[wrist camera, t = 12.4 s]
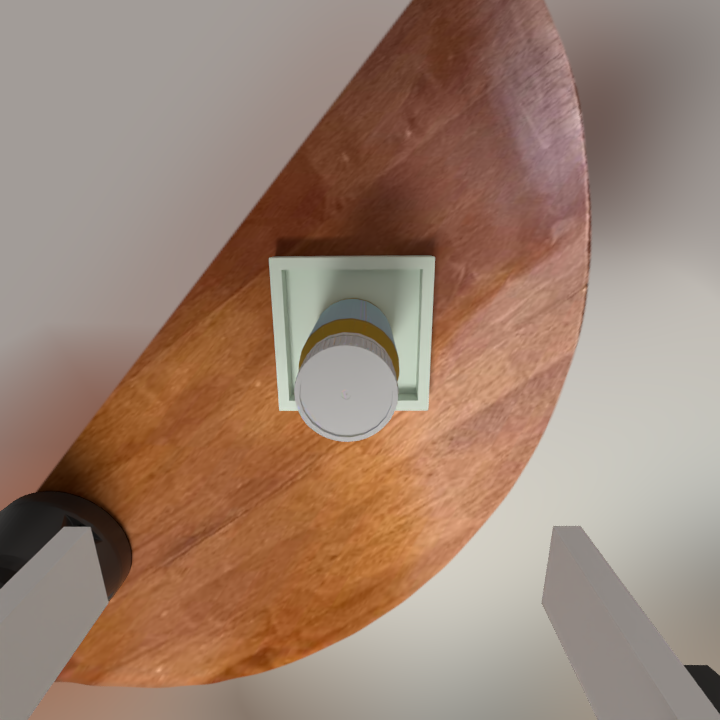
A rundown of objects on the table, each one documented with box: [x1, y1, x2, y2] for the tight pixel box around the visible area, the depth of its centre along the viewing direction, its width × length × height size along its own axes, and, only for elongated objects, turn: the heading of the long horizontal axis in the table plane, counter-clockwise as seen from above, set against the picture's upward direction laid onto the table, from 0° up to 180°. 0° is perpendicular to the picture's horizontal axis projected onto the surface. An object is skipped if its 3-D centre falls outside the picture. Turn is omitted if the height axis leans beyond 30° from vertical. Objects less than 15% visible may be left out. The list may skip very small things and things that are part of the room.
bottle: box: [294, 298, 400, 442], centre depth 31 cm, size 7×7×15 cm
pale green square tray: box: [269, 255, 435, 411], centre depth 38 cm, size 14×14×2 cm
